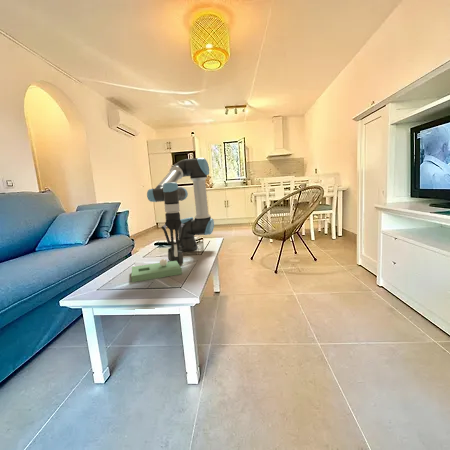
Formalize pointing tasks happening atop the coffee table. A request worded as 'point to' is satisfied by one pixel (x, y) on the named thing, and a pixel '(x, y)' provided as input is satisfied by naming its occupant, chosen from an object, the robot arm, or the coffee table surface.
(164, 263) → the golf ball
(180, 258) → the camera
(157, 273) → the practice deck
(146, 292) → the coffee table surface
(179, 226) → the robot arm
